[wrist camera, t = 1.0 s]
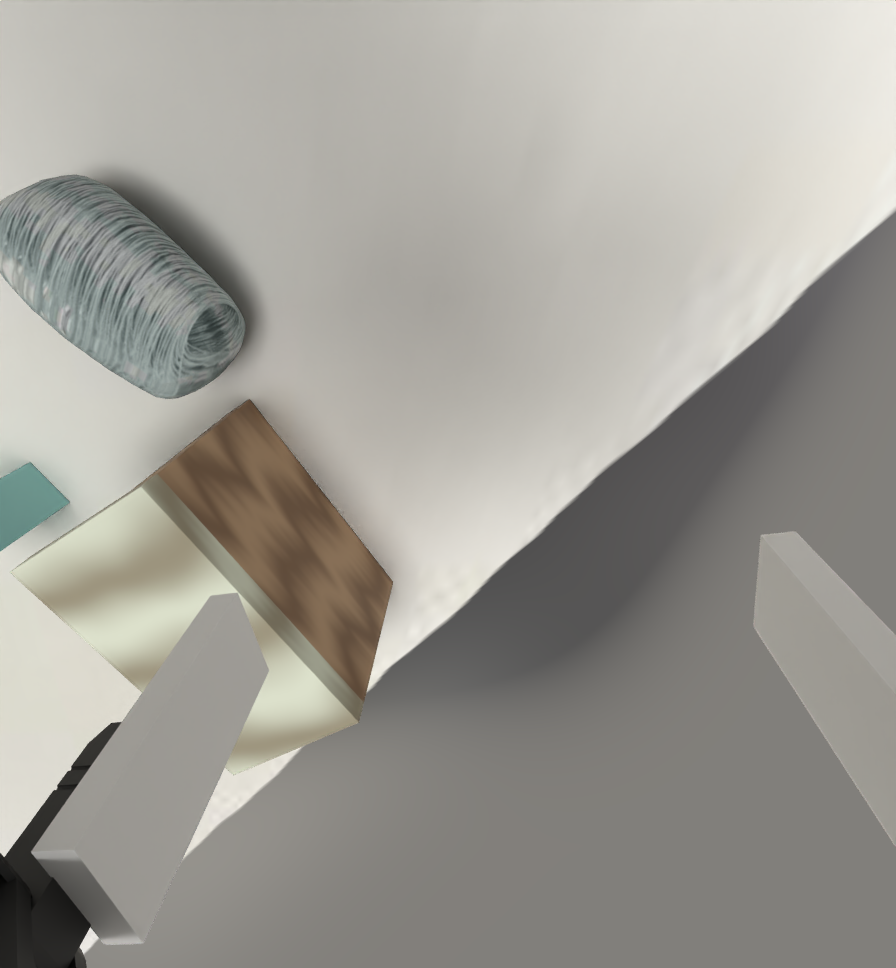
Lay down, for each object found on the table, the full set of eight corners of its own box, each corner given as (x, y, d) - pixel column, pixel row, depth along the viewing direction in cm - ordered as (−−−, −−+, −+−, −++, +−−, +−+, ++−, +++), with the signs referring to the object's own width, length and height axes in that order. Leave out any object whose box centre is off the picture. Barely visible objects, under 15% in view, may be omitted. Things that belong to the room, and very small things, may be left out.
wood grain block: (149, 465, 42) (9, 572, 30) (249, 399, 40) (140, 486, 27) (298, 629, 49) (233, 775, 36) (393, 582, 46) (358, 722, 33)
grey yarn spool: (293, 316, 34) (140, 373, 27) (241, 392, 41) (108, 453, 34) (148, 122, 33) (-51, 129, 26) (120, 235, 39) (-43, 264, 33)
